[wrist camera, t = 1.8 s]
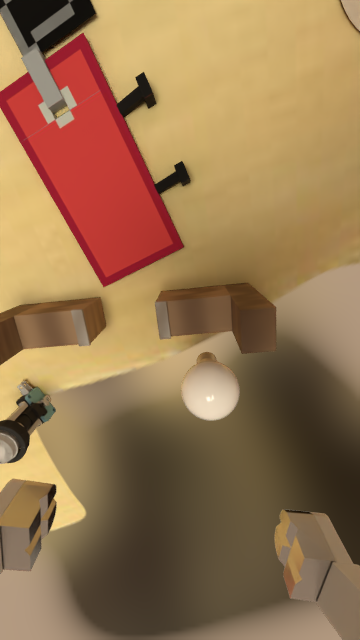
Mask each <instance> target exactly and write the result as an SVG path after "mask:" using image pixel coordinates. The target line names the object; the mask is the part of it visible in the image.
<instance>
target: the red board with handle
mask: <svg viewBox="0 0 360 640" xmlns="http://www.w3.org/2000/svg"><path fill="white" fill-rule="evenodd" d="M0 14H1V16H2V18H3V20H4V21H5V23H6V25H7V27H8V29H9V31H10V33H11V35H12V37H13V38H14V40H15V42H16V44H17V46H18V48H19V50H20V52H21V54H22V55H23V57H22V58H21V59H22V60H23V62H24V64H25V66H26V68H27V70H28V72H27V73H26V74H25V75H23V76H22V77H20V78H19V79H18V80H16V81H15V82H13V83H12V84H11V85H9V86H8V87H6V88H5V89H4V90H2V91H1V92H0V108H1V110H2V111H3V113H4V115H5V117H6V118H7V120H8V122H9V123H10V125H11V127H12V129H13V130H14V132H15V134H16V136H17V137H18V139H19V141H20V143H21V144H22V146H23V148H24V150H25V151H26V153H27V155H28V156H29V158H30V160H31V162H32V163H33V165H34V167H35V169H36V170H37V172H38V174H39V176H40V177H41V179H42V181H43V183H44V184H45V186H46V188H47V189H48V191H49V193H50V195H51V196H52V198H53V200H54V202H55V203H56V205H57V207H58V209H59V210H60V212H61V214H62V216H63V217H64V219H65V221H66V223H67V224H68V226H69V228H70V229H71V231H72V233H73V235H74V236H75V238H76V240H77V242H78V243H79V245H80V247H81V249H82V250H83V252H84V254H85V256H86V257H87V259H88V261H89V262H90V264H91V266H92V268H93V269H94V271H95V273H96V275H97V276H98V278H99V280H100V282H101V283H102V285H103V287H105V286H107V285H109V284H111V283H113V282H115V281H117V280H119V279H121V278H123V277H125V276H127V275H129V274H131V273H133V272H135V271H137V270H139V269H141V268H143V267H145V266H147V265H149V264H151V263H153V262H155V261H157V260H159V259H161V258H163V257H165V256H167V255H169V254H171V253H173V252H175V251H177V250H179V249H181V248H183V247H184V246H183V244H182V242H181V240H180V238H179V235H178V233H177V231H176V229H175V227H174V225H173V223H172V220H171V218H170V216H169V214H168V212H167V210H166V208H165V205H164V203H163V201H162V199H161V197H160V195H159V194H161V193H162V192H164V191H165V190H167V189H169V188H170V187H172V186H174V185H175V184H177V183H179V182H180V181H181V183H182V185H183V186H184V185H186V184H188V183H190V178H189V176H188V173H187V171H186V169H185V166H184V164H183V162H182V161H181V162H179V163H178V164H176V165H174V167H175V170H176V172H174V173H173V174H171V175H170V176H168V177H166V178H165V179H163V180H162V181H160V182H158V183H157V184H154V182H153V180H152V178H151V175H150V173H149V171H148V169H147V167H146V165H145V163H144V160H143V158H142V156H141V154H140V152H139V150H138V148H137V145H136V143H135V141H134V139H133V137H132V135H131V133H130V130H129V128H128V126H127V124H126V122H125V120H124V117H125V116H126V115H127V114H129V113H130V112H131V111H132V110H134V109H135V108H136V107H137V106H139V105H140V104H141V103H142V102H144V101H145V102H146V104H147V106H148V108H150V107H152V106H154V105H155V104H156V101H155V98H154V95H153V92H152V90H151V87H150V85H149V83H148V81H147V78H146V76H145V74H144V72H143V73H141V74H140V75H138V76H137V77H135V78H136V80H137V83H138V85H139V86H138V87H137V88H136V89H135V90H133V91H132V92H131V93H130V94H129V95H128V96H126V97H125V98H124V99H123V100H122V101H120V102H119V103H118V104H117V103H116V101H115V98H114V96H113V94H112V92H111V90H110V88H109V86H108V83H107V81H106V79H105V77H104V75H103V73H102V71H101V68H100V66H99V64H98V62H97V60H96V58H95V56H94V53H93V51H92V49H91V47H90V45H89V43H88V41H87V39H86V37H85V35H84V33H82V34H81V35H79V36H78V37H76V38H75V39H74V40H72V41H71V42H69V43H68V44H67V45H65V46H64V47H62V48H61V49H60V50H58V51H57V52H55V53H54V54H53V55H51V56H50V57H48V58H47V59H46V58H45V56H44V55H43V54H42V52H43V51H45V50H46V49H47V48H49V47H50V46H52V45H53V44H54V43H56V42H57V41H58V40H60V39H61V38H63V37H64V36H65V35H67V34H68V33H70V32H71V31H72V30H74V29H75V28H76V27H78V26H79V25H81V24H82V23H83V22H85V21H86V20H88V19H89V18H90V17H92V16H93V15H94V14H96V12H95V10H94V8H93V6H92V4H91V1H90V0H0ZM66 106H68V108H69V109H70V110H69V111H67V112H66V113H64V114H63V115H61V116H60V117H58V118H57V117H56V115H55V113H56V112H58V111H59V110H61V109H62V108H64V107H66Z"/></svg>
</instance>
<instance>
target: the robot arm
mask: <svg viewBox="0 0 360 640" xmlns="http://www.w3.org/2000/svg"><path fill="white" fill-rule="evenodd" d="M341 2H342V5H343V7H344V9H345V11H346V13H347V15H348V17H349V19H350V20H351V22H352V23H353V24H354V25H355V27H356V28H357V29H358V30H359V31H360V0H341ZM55 494H56V485H55V484H48V483H41V482H34V481H26V480H18V479H12V480H10V481H9V482H8V483H7V484H6V486H5V487H4V488H3V490H2V491H1V492H0V574H1V573H2V571H3V569H4V570H18V571H31V569H32V567H33V565H34V563H35V561H36V558H37V557H38V554H39V552H40V550H41V539H43V538H44V537H45V536H46V535H47V534H48V533H49V531H50V528H51V526H52V523H53V520H54V517H55V513H56V501H55V500H54V499H53V498H54V496H55ZM280 520H281V523H280V524H279V525H278V526H277V527H276V531H275V547H276V552H277V555H278V559H279V560H280V561H281V562H282V563H283V565H284V566H285V569H284V572H283V576H284V579H285V582H286V586H287V589H288V592H289V596H290V598H292V599H299V600H306V601H313V602H317V603H316V604H317V605H318V607H319V608H320V609H321V611H322V612H323V614H324V615H325V616H326V618H327V619H328V620H329V622H330V623H331V625H332V626H333V627H334V629H335V630H336V631H337V633H338V634H339V636H340V637H341V638H342V640H360V567H359V566H358V565H355V564H353V563H352V561H351V559H350V557H349V555H348V553H347V551H346V550H345V548H344V546H343V544H342V542H341V540H340V538H339V536H338V534H337V533H336V531H335V529H334V527H333V525H332V523H331V521H330V519H329V517H328V516H327V515H326V514H323V513H314V512H306V511H296V510H285V509H283V510H282V511H281V513H280Z"/></svg>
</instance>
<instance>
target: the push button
mask: <svg viewBox="0 0 360 640" xmlns="http://www.w3.org/2000/svg"><path fill="white" fill-rule="evenodd" d="M24 383H25V384H26V386H25V385H24ZM17 387H18V389H19V390H20V391H21V394H22V395H23V396H22V397H21V398H20V399H18V400H17V402H16V403H17V405H18V406H19V407H18V408H17V409H16V410H15V411H14V412H13V413H12V414H11V415H10V416H9V417H8V418H7V419H6V420H3V421H0V464H2V463H13V462H16V461H18V460H20V459H21V458H22V457H23V456H24V454H25V453H26V451H27V447H28V446H29V439H30V435H31V434H32V432H33V431H34V430H35V429H36V427H38V426H40V425H41V424H43V423H44V422H46V421H48V420H49V419H50V418H51V417H52V415H53V414H54V412H55V411H56V409H55V408H54V407H53V406H52V404H51V403H50V401H51V398H50V397H49V396H48V395H46V396H45V395H44V394H43V393H42V392H41V390H40V389H39V388H38V387H36V388H34V389H33V388H32V387H31V386H29V385H28V384H27V382H26V381H23V382H21V384H20V385H18V386H17ZM20 387H22V388H23V389H20ZM47 398H48V399H49V400H48V399H47ZM14 420H15V421H14ZM20 448H21V449H20Z"/></svg>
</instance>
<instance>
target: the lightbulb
mask: <svg viewBox="0 0 360 640" xmlns="http://www.w3.org/2000/svg"><path fill="white" fill-rule="evenodd" d="M181 393H182V398H183V401H184V403H185V405H186V407H187V408H188V410H189V411H190V412H191V413H192V414H194V415H195V416H197V417H198V418H201V419H204V420H218V419H222V418H224V417H226V416H227V415H228V414H230V413H231V411H233V409H234V408H235V406H236V405H237V402H238V399H239V384H238V381H237V378H236V376H235V375H234V374H233V372H232V371H231V370H230V369H229V368H228V367H227V366H225V365H224V364H222V363H219V362H217V360H216V357H215V356H214V355H213V354H212V353H209V352H205V353H202V354H200V355H199V356H198V358H197V364H196V365H194V366H193V367H192V368H190V370H188V372H187V373H186V375H185V377H184V379H183V382H182V388H181Z"/></svg>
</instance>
